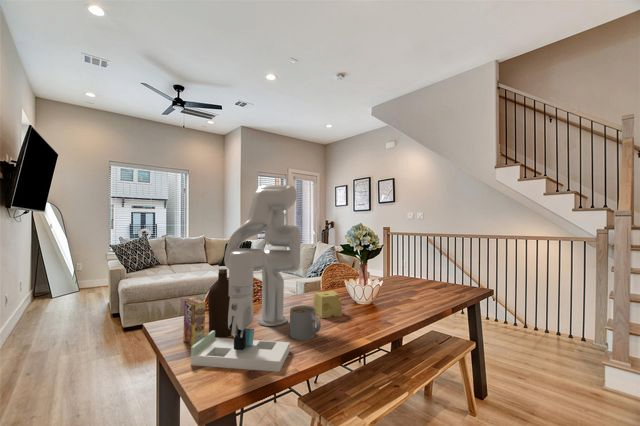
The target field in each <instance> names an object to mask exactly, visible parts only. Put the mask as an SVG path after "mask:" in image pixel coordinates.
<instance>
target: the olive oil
mask: <svg viewBox="0 0 640 426" xmlns="http://www.w3.org/2000/svg"><path fill="white" fill-rule="evenodd" d="M217 275H218V276H217V277H218V278H217V280H216V281H215V282H214V283H213V284H212V286H211V287H210V288H209V290H208V293H207V301H208V303H207V304H208V305H207V307H208V334H209V333H210V332H211V331H212V330H214V331H215V338H226V337H228V336H232V335H231V333H232V329H231V330H230V329H229V328H228V312H229V302H230V297H229V296H228V295H229V278H228V268H220V269H218V274H217Z"/></svg>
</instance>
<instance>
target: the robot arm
mask: <svg viewBox="0 0 640 426" xmlns="http://www.w3.org/2000/svg"><path fill="white" fill-rule="evenodd" d="M255 190H256V191H255V192H254V193H253V196H252V198H251V199H252V200H251V204H250V207H249V211H248V214H247V219H246V221H245V222H244V223H242V224H241V225H240V226H239V227H238V228H236V229H235V231H234V232H233V233H231V236H230V238H229V239H228V242H227V245H226V249H225V252H224V260H223V261H224V265H225V267H226V269H227V270H228V280H229V295H228V296H229V297H230V302H229V312H228V328H229V329H230V330H231V329H232V333H231V335H230V336H233V339H234V349H235V350H244V348H245V345H246V328H247V329H248V327H249V326H250V325H251V324H252V322H253V321H254V301H253V299H254V298H253V295H254V272H259V271H261V282H262V283H261V316H260V317H258V319H257V323H258V324H260V325H261V326H266V327H276V326H281V325H284V324H286V323H287V322H288V318H287V316H285V315H284V312H285V311H284V305H285V304H284V302H285V297H284V296H285V293H284V292H285V281H284V277H283V276H282V275H281V273H280V272H282V273H283V272H284V273H285V272H287V273H295V272H298V271H299V269H300V267H301V246H302V245H301V244H302V243H301V237H302V236H301V231H300V228H299V227H298V226H297V225H291V224H290V225H287V224H286V225H285V214H284V211H288V210H289V209H290V208H291V207H292V206H294V205H295V202H296V200H297V197H298V196H297V190H296V188H295V186H294V185H291V184H286V185H285V184H284V185H283V184H282V185H281V184H279V185H277V184H276V185H275V184H270V185H269V184H267V185H260V186H258V187H256V189H255ZM263 232H264V242H265V244H266V245H267V246H268V247H276V248H277V247H282V248H283V247H284V248H285V247H287V248H288V249H273V248H272V249H266V250H264V249H261V248H245V247H241V245H242V244H243V242H245V241H246V240H247V239H249V238H251V237H254V236H257V235H259V234H261V233H263Z"/></svg>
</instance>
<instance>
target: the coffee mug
mask: <svg viewBox="0 0 640 426" xmlns="http://www.w3.org/2000/svg"><path fill="white" fill-rule="evenodd" d="M321 325H322V324H321V320H320V318H319V317H318V316H316V313H315V308H314V306H311V305H296V306H292V307H291V308H290V309H289V336H290V337H291V338H292V339H294V340H300V341H303V340H304V341H305V340H310V339H313V338H314V337H315V336H316V333H319V332H320V330H321V328H322V327H321Z"/></svg>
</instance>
